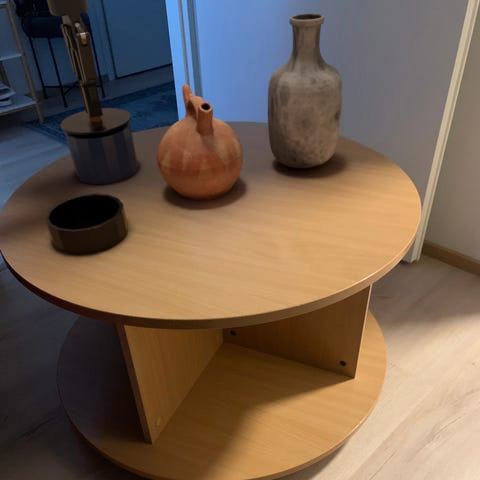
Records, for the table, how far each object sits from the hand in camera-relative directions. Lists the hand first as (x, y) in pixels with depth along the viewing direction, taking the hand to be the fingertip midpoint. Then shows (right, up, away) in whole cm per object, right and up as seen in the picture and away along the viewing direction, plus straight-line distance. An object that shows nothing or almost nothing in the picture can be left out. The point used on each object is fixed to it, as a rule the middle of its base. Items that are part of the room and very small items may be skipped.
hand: (94, 113), depth 112 cm
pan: (+3, -29, -14) cm, 32 cm away
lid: (0, -1, +1) cm, 2 cm away
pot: (+1, -10, +9) cm, 13 cm away
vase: (+47, -9, +6) cm, 49 cm away
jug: (+24, -17, -1) cm, 30 cm away
